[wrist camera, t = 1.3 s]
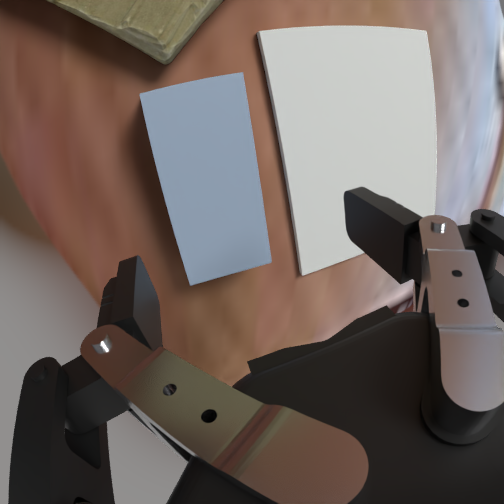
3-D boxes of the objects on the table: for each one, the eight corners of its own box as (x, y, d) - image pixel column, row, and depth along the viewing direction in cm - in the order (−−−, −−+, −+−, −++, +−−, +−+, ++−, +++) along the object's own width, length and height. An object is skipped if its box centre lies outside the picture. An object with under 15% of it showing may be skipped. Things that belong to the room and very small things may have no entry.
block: (143, 94, 17) (139, 94, 14) (227, 76, 18) (242, 72, 15) (184, 256, 24) (190, 285, 20) (254, 236, 25) (271, 262, 21)
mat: (256, 32, 17) (259, 31, 17) (421, 31, 19) (426, 30, 19) (299, 271, 27) (302, 275, 26) (429, 223, 29) (433, 225, 29)
